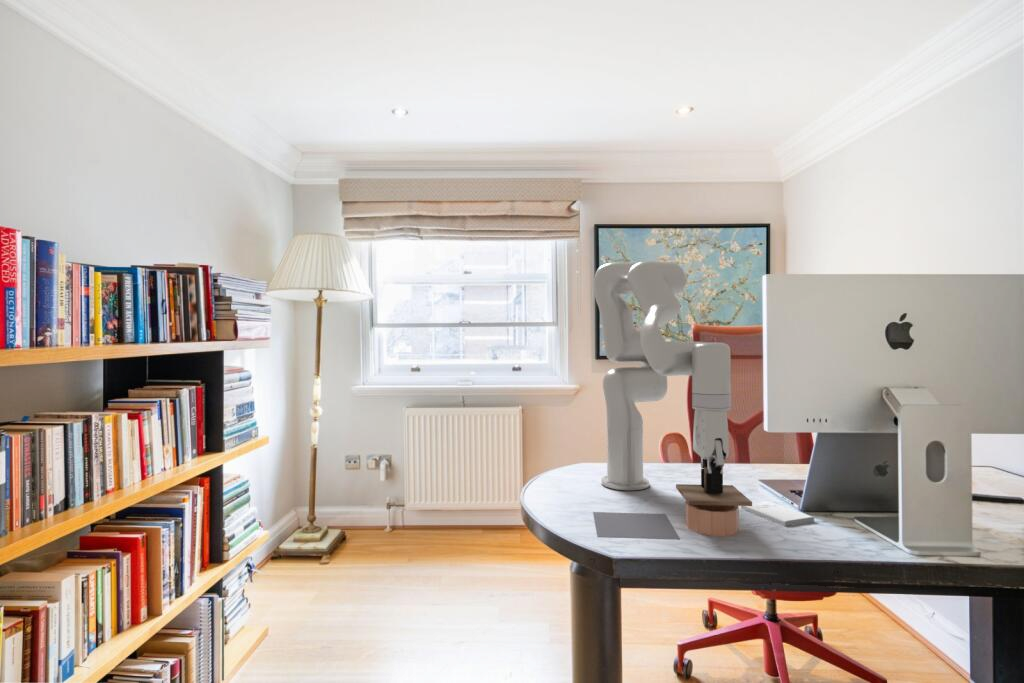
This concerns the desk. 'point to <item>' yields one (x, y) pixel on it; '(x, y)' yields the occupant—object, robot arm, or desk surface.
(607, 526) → the mat
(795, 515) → the external hard drive
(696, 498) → the lid
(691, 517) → the bowl
